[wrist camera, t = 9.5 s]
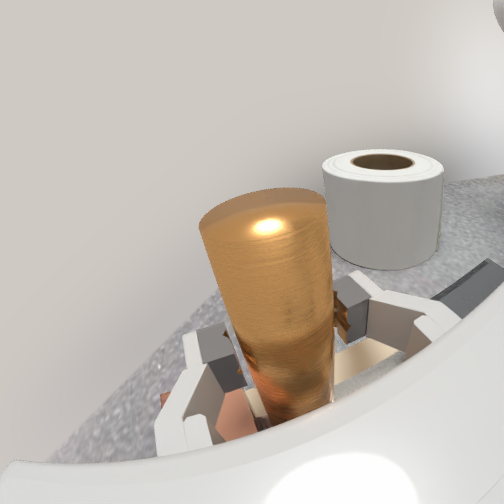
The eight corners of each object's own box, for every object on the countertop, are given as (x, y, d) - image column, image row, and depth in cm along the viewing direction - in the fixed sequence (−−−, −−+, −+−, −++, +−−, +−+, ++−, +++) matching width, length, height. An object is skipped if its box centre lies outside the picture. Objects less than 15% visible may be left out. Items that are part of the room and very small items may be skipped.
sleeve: (474, 301, 19) (487, 258, 17) (508, 329, 15) (527, 285, 13) (405, 353, 18) (417, 307, 15) (443, 394, 14) (466, 351, 11)
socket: (255, 413, 17) (236, 372, 14) (289, 495, 11) (276, 479, 8) (194, 431, 16) (160, 394, 13) (215, 514, 10) (176, 502, 8)
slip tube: (423, 345, 17) (453, 146, 10) (449, 372, 14) (507, 162, 7) (219, 441, 14) (91, 247, 8) (232, 483, 12) (62, 309, 5)
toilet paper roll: (455, 237, 31) (461, 161, 26) (392, 289, 26) (396, 189, 21) (378, 206, 44) (374, 144, 38) (307, 239, 39) (296, 165, 34)
